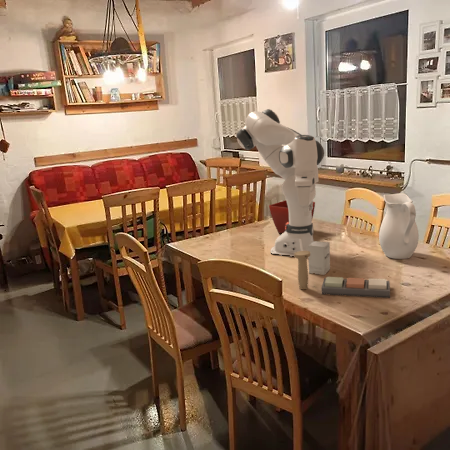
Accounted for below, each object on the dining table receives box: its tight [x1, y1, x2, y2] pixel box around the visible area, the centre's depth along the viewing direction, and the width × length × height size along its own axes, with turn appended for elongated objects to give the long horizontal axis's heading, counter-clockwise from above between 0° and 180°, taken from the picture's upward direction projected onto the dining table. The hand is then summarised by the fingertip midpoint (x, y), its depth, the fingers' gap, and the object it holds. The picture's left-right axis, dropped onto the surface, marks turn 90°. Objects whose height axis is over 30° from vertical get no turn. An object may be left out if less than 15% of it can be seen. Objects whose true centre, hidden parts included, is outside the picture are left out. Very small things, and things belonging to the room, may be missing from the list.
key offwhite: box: [368, 278, 387, 289], centre depth 175 cm, size 6×6×2 cm
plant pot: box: [268, 199, 316, 234], centre depth 262 cm, size 19×19×17 cm
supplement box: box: [307, 240, 331, 276], centre depth 200 cm, size 7×7×13 cm
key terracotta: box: [346, 277, 365, 288], centre depth 177 cm, size 6×6×2 cm
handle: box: [294, 251, 310, 290], centre depth 182 cm, size 5×6×15 cm
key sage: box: [325, 276, 344, 287], centre depth 180 cm, size 6×6×2 cm
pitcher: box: [378, 192, 420, 260], centre depth 206 cm, size 24×17×28 cm
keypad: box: [320, 277, 391, 299], centre depth 178 cm, size 25×10×3 cm, turn 72°
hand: (308, 213), depth 180 cm, fingers open, 8 cm apart
